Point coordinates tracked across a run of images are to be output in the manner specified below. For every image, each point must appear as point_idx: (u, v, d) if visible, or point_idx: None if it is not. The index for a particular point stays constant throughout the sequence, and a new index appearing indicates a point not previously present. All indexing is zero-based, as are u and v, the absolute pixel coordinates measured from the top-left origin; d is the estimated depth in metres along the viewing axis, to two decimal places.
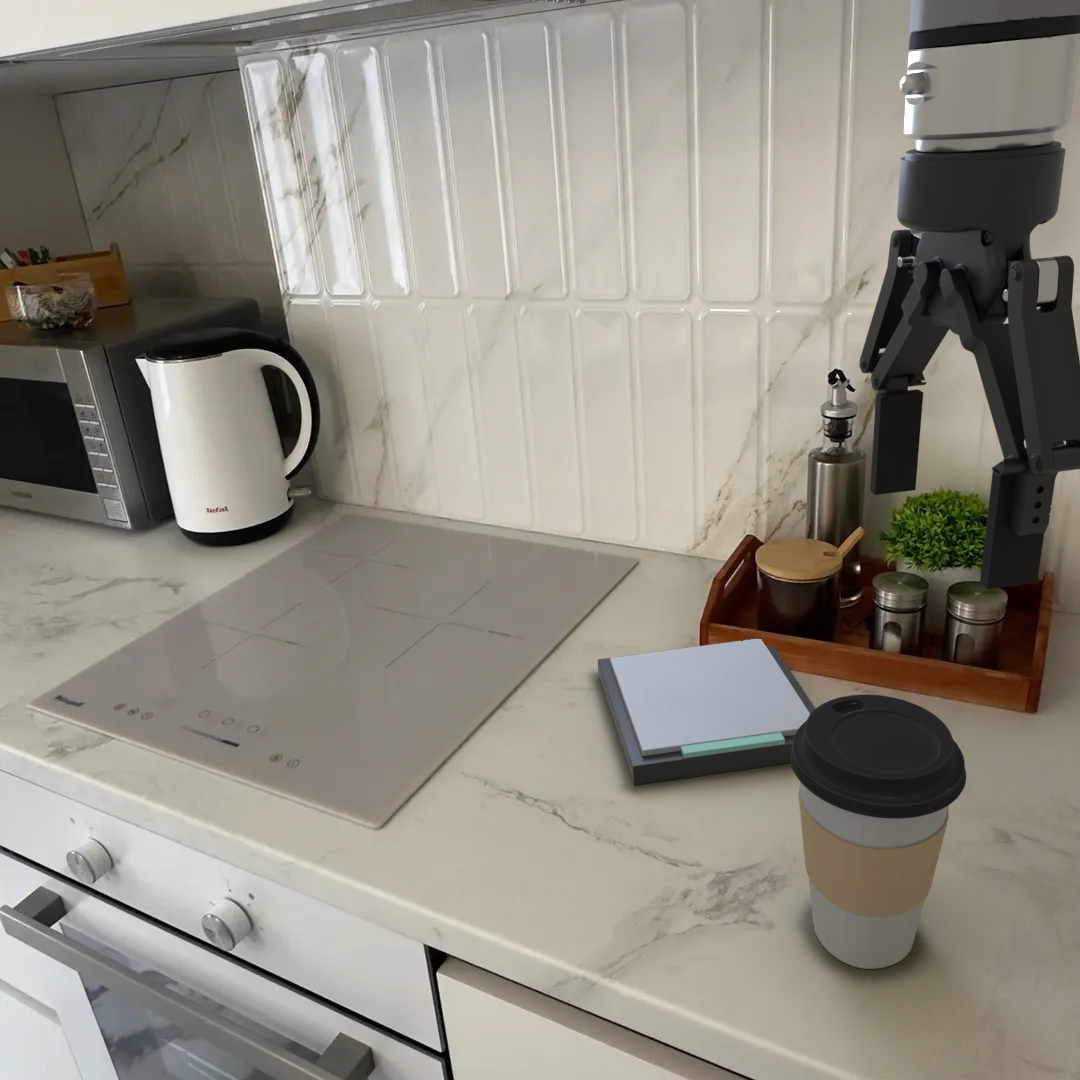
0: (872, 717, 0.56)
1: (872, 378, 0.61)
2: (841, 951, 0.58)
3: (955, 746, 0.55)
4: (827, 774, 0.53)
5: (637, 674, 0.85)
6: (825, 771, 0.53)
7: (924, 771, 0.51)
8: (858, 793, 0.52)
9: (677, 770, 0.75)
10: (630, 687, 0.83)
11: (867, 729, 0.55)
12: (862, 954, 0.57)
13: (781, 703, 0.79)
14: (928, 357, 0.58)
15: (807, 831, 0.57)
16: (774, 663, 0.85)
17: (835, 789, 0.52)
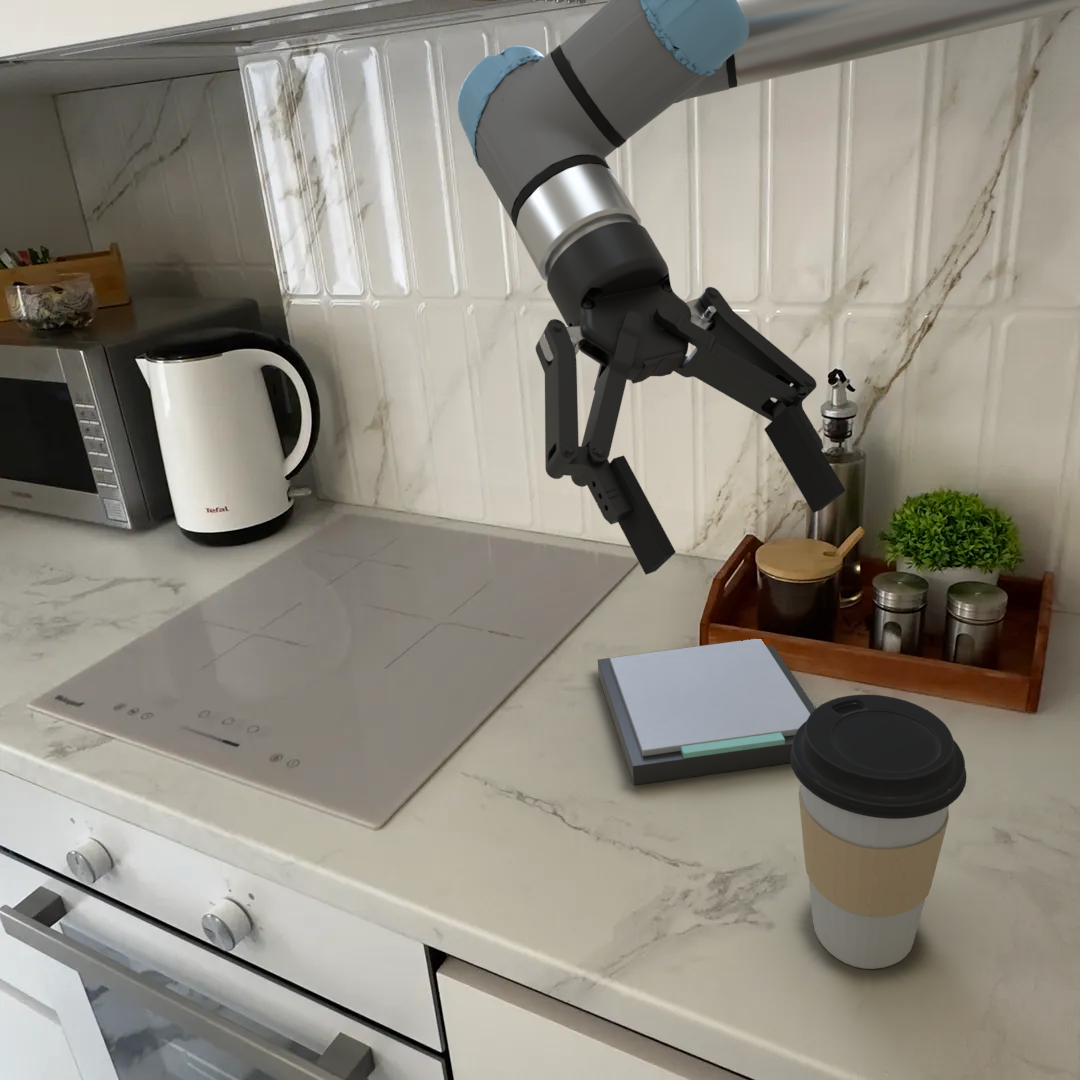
0: (872, 717, 0.56)
1: None
2: (841, 951, 0.58)
3: (955, 746, 0.55)
4: (827, 774, 0.53)
5: (637, 674, 0.85)
6: (825, 771, 0.53)
7: (924, 771, 0.51)
8: (858, 793, 0.52)
9: (677, 770, 0.75)
10: (630, 687, 0.83)
11: (868, 729, 0.55)
12: (862, 954, 0.57)
13: (781, 703, 0.79)
14: (752, 382, 0.63)
15: (807, 831, 0.57)
16: (774, 663, 0.85)
17: (835, 789, 0.52)
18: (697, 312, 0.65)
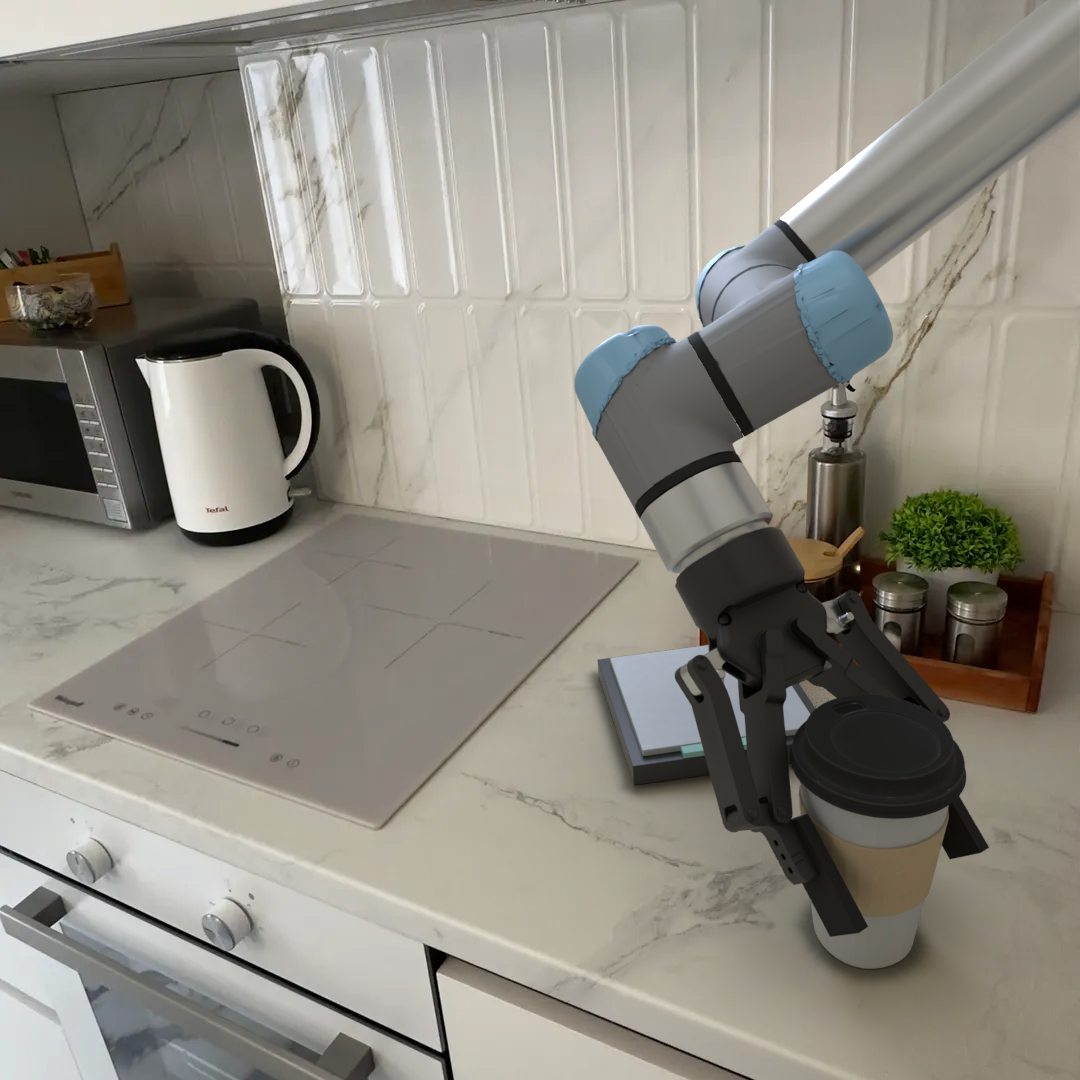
0: (872, 717, 0.56)
1: None
2: (841, 951, 0.58)
3: (955, 746, 0.55)
4: (827, 774, 0.53)
5: (637, 674, 0.85)
6: (825, 771, 0.53)
7: (924, 771, 0.51)
8: (858, 793, 0.52)
9: (677, 770, 0.75)
10: (630, 687, 0.83)
11: (868, 729, 0.55)
12: (862, 954, 0.57)
13: None
14: None
15: None
16: None
17: (835, 789, 0.52)
18: (833, 614, 0.62)
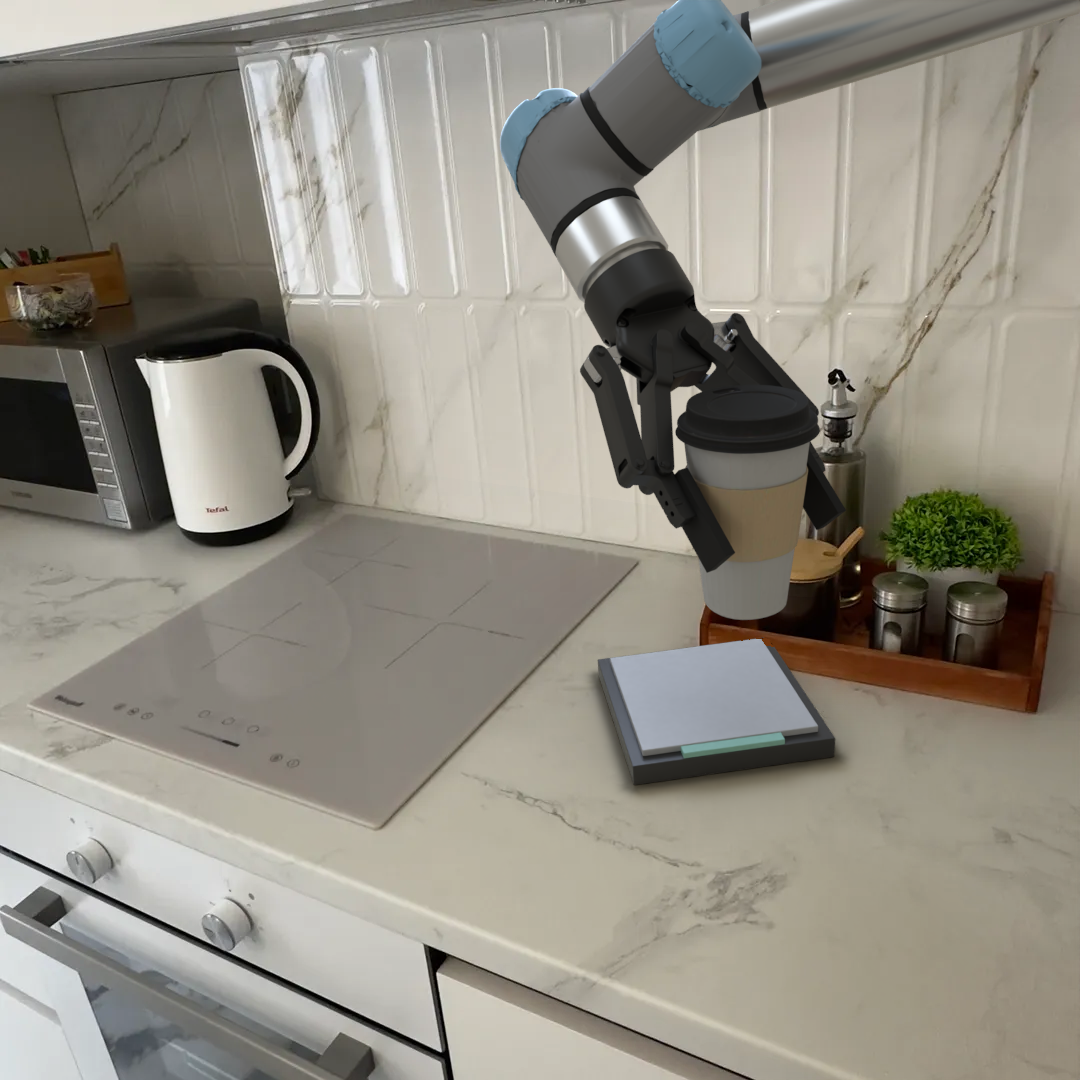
0: (745, 395, 0.66)
1: None
2: (723, 606, 0.68)
3: (812, 413, 0.65)
4: (701, 427, 0.63)
5: (637, 674, 0.85)
6: (699, 425, 0.63)
7: (779, 415, 0.61)
8: (725, 436, 0.62)
9: (677, 770, 0.75)
10: (630, 687, 0.83)
11: (739, 400, 0.65)
12: (739, 604, 0.67)
13: (781, 703, 0.79)
14: None
15: None
16: (774, 663, 0.85)
17: (707, 435, 0.62)
18: (720, 333, 0.72)
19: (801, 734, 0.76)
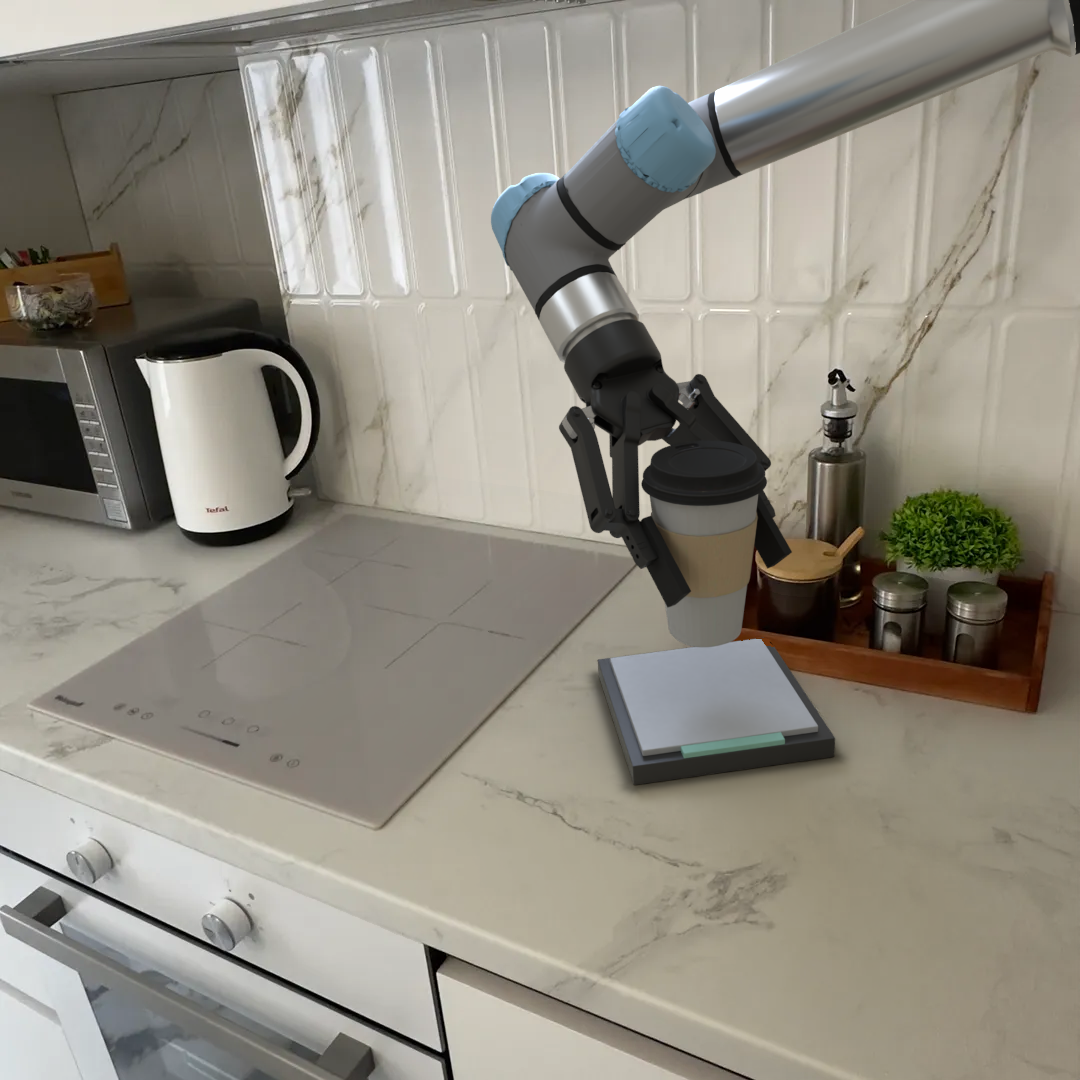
0: (702, 451, 0.75)
1: None
2: (684, 635, 0.77)
3: (761, 467, 0.74)
4: (662, 481, 0.72)
5: (637, 674, 0.85)
6: (661, 479, 0.72)
7: (729, 472, 0.70)
8: (682, 490, 0.71)
9: (677, 770, 0.75)
10: (630, 687, 0.83)
11: (697, 456, 0.74)
12: (698, 634, 0.77)
13: (781, 703, 0.79)
14: None
15: None
16: (774, 663, 0.85)
17: (667, 489, 0.71)
18: (685, 392, 0.81)
19: (801, 734, 0.76)
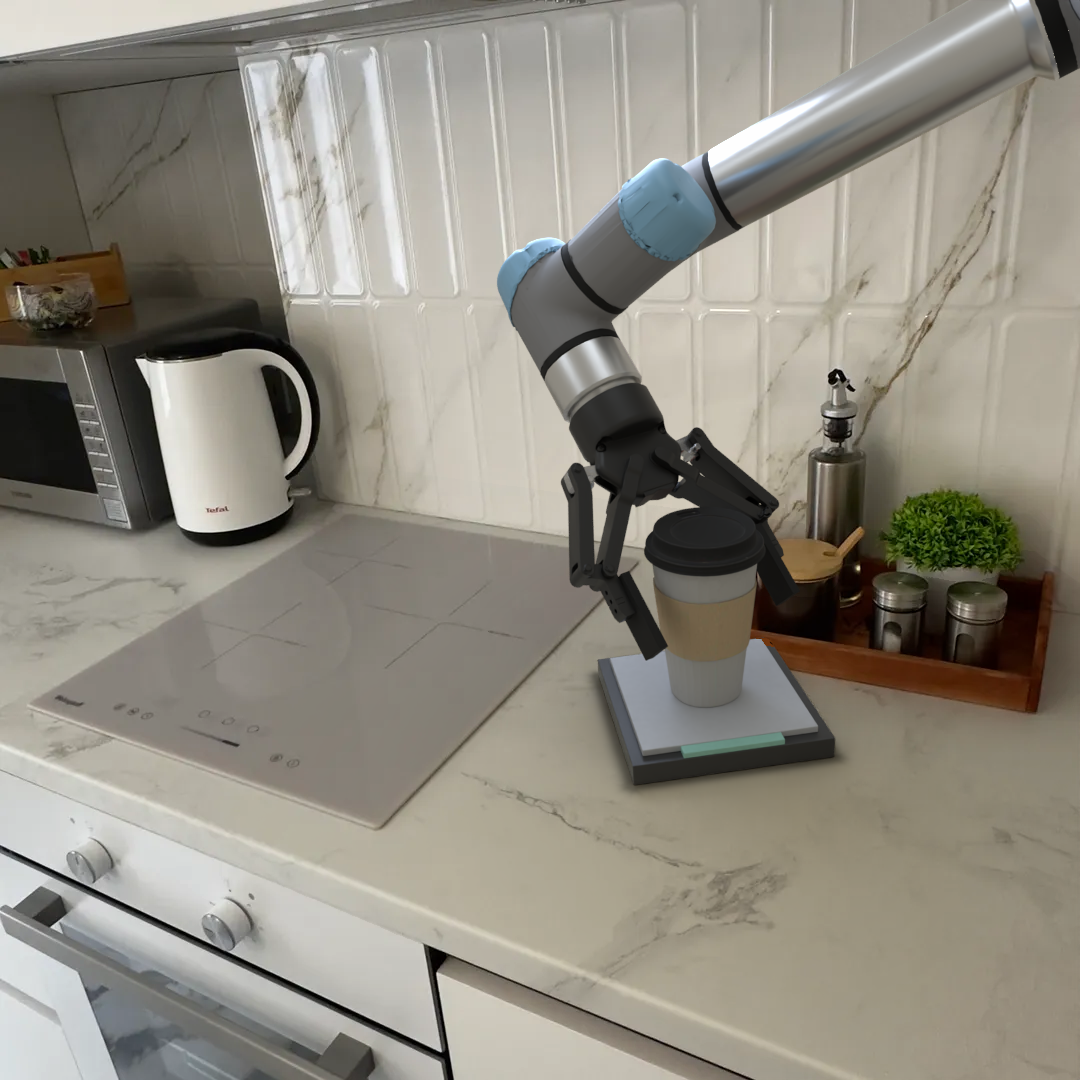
0: (703, 519, 0.78)
1: None
2: (685, 695, 0.80)
3: (760, 536, 0.76)
4: (664, 551, 0.74)
5: (637, 674, 0.85)
6: (663, 549, 0.74)
7: (729, 544, 0.73)
8: (683, 561, 0.73)
9: (677, 770, 0.75)
10: (630, 687, 0.83)
11: (698, 525, 0.77)
12: (699, 695, 0.79)
13: (781, 703, 0.79)
14: (728, 505, 0.81)
15: (657, 602, 0.78)
16: (774, 663, 0.85)
17: (668, 559, 0.74)
18: (685, 447, 0.83)
19: (801, 734, 0.76)
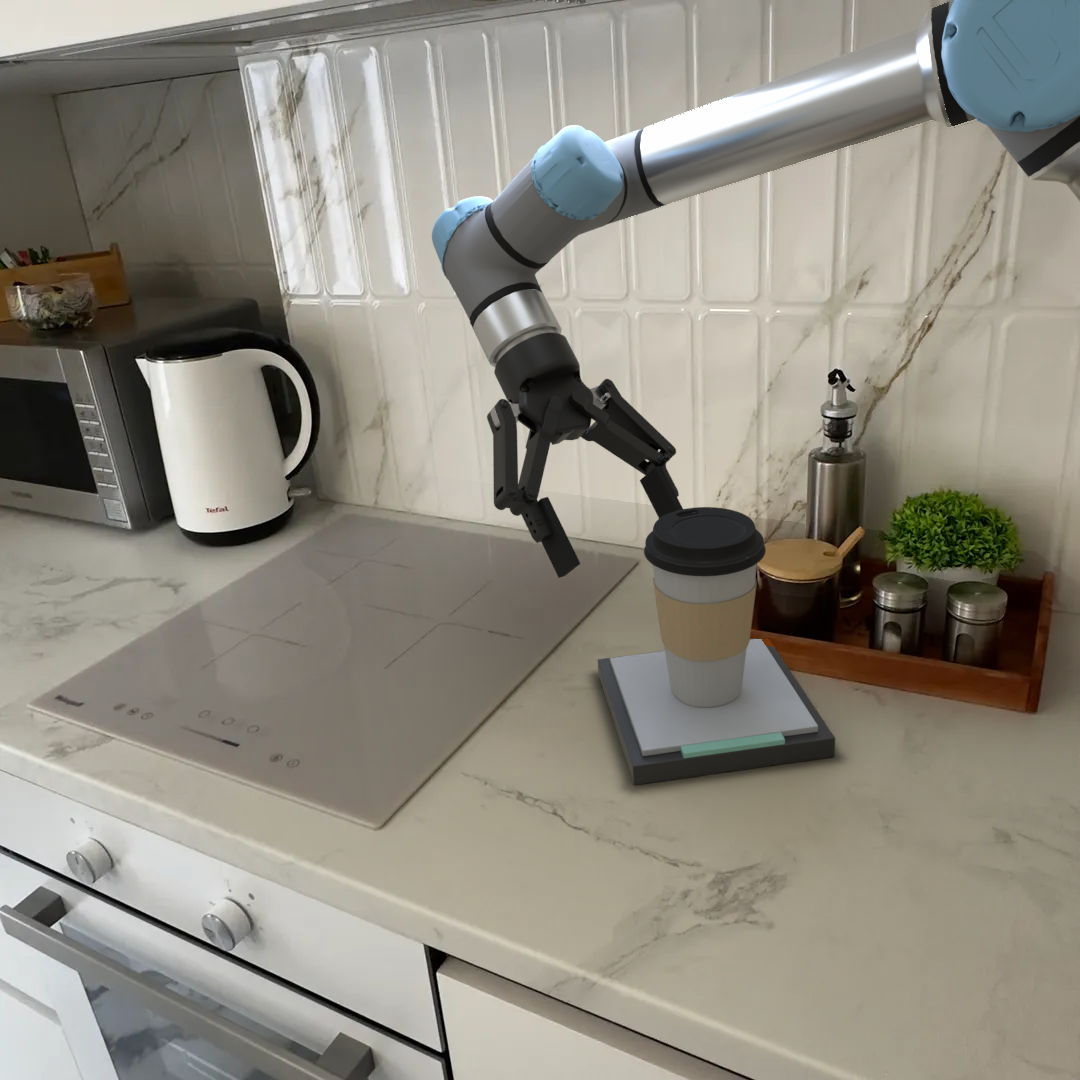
0: (703, 519, 0.78)
1: None
2: (685, 695, 0.80)
3: (759, 536, 0.76)
4: (664, 551, 0.74)
5: (637, 674, 0.85)
6: (663, 549, 0.74)
7: (728, 543, 0.73)
8: (683, 560, 0.73)
9: (677, 770, 0.75)
10: (630, 687, 0.83)
11: (698, 525, 0.77)
12: (699, 695, 0.79)
13: (781, 703, 0.79)
14: (633, 448, 0.91)
15: (657, 602, 0.78)
16: (774, 663, 0.85)
17: (668, 559, 0.74)
18: (597, 396, 0.93)
19: (801, 734, 0.76)
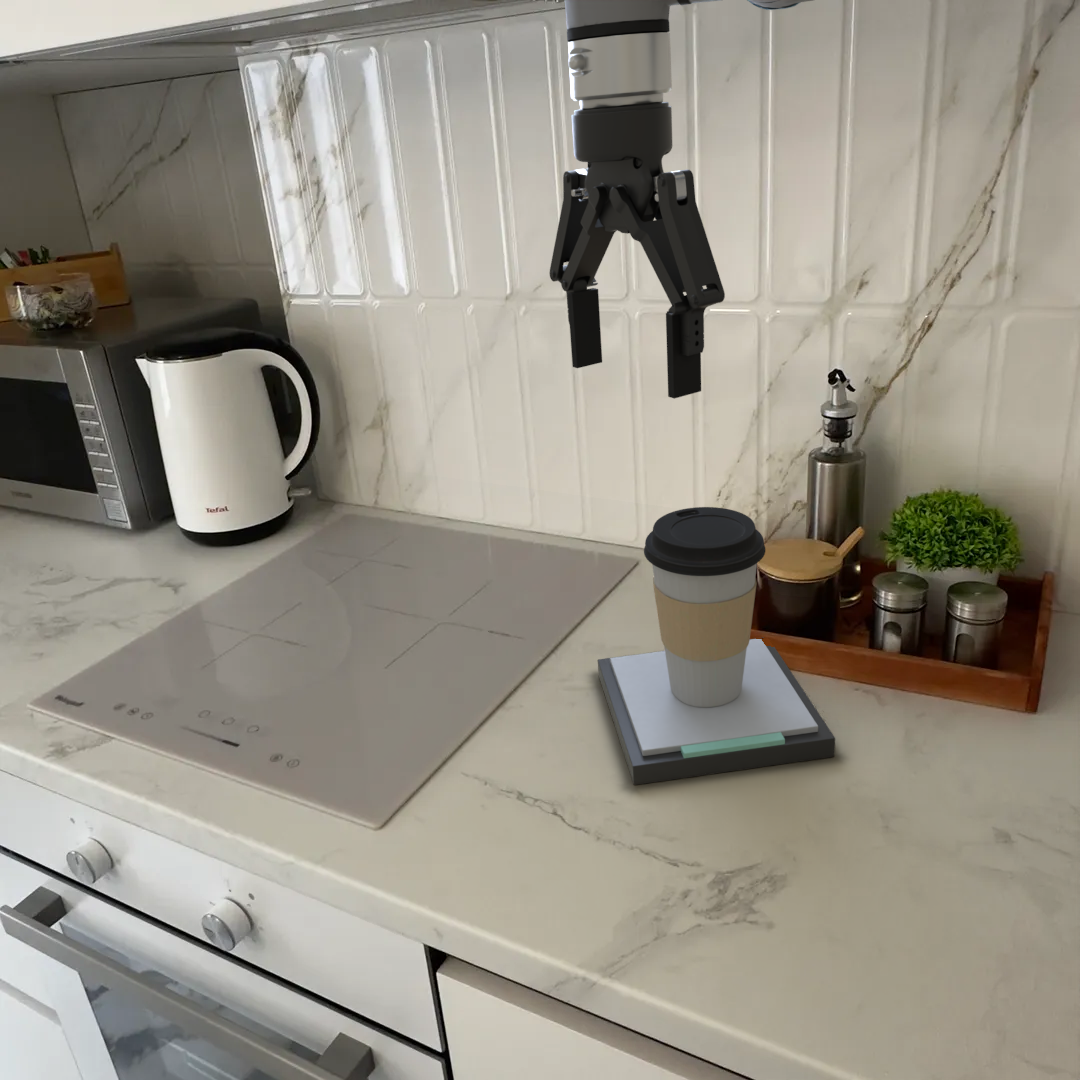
0: (703, 519, 0.78)
1: (562, 282, 0.84)
2: (685, 695, 0.80)
3: (759, 536, 0.76)
4: (664, 550, 0.74)
5: (637, 674, 0.85)
6: (663, 549, 0.74)
7: (728, 543, 0.73)
8: (683, 560, 0.73)
9: (677, 770, 0.75)
10: (630, 687, 0.83)
11: (698, 525, 0.77)
12: (699, 695, 0.79)
13: (781, 703, 0.79)
14: (599, 261, 0.83)
15: (657, 602, 0.78)
16: (774, 663, 0.85)
17: (668, 559, 0.74)
18: None
19: (801, 734, 0.76)
